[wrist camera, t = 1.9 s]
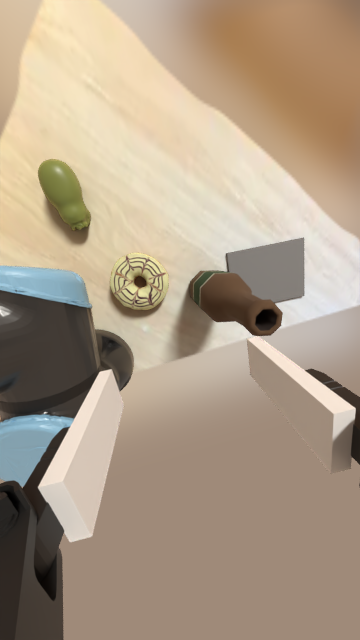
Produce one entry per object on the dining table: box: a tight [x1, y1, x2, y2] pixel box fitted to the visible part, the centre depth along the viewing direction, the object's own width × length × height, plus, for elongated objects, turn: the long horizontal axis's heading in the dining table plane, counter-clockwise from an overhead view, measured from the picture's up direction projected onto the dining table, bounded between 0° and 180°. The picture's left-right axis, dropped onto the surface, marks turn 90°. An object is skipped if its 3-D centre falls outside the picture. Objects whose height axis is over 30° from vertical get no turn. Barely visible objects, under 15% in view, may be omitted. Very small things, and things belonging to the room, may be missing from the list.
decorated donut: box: [110, 253, 169, 310], centre depth 38 cm, size 10×11×4 cm
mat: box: [226, 238, 304, 302], centre depth 41 cm, size 16×12×1 cm
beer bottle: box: [190, 271, 282, 336], centre depth 30 cm, size 8×8×24 cm
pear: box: [38, 159, 91, 231], centre depth 32 cm, size 6×5×10 cm
